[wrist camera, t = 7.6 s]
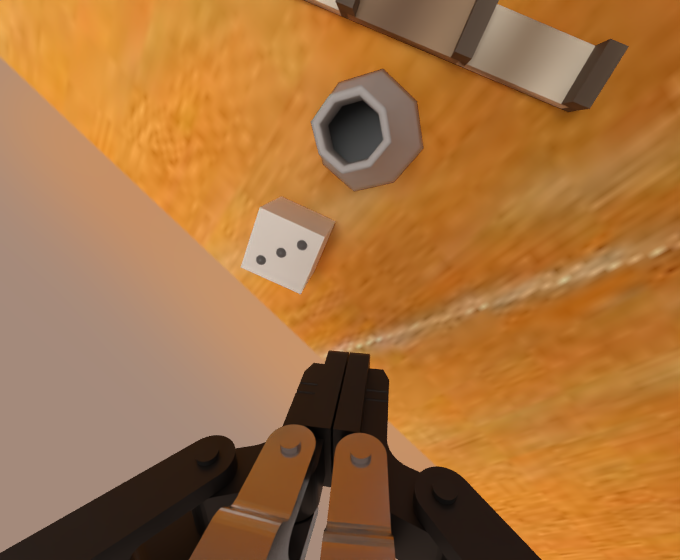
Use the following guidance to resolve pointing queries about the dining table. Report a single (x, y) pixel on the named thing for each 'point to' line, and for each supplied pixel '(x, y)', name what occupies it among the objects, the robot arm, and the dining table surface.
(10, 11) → the dining table surface
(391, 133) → the flask
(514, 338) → the dining table surface
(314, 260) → the die
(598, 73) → the strip
